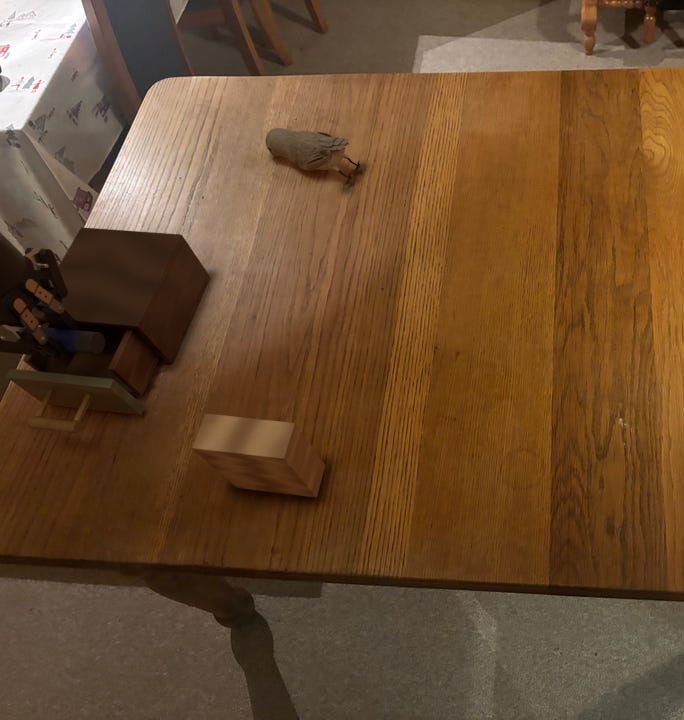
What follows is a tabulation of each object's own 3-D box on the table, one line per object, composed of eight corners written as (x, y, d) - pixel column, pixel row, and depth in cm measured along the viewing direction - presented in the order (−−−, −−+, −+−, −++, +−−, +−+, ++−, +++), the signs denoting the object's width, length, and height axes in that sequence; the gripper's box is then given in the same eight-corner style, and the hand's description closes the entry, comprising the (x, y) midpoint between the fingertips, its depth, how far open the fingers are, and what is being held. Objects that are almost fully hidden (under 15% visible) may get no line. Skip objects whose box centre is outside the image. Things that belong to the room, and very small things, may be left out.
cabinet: (172, 364, 87) (137, 326, 80) (72, 354, 89) (28, 316, 81) (210, 276, 95) (181, 234, 87) (117, 269, 96) (80, 227, 89)
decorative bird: (282, 145, 108) (267, 106, 101) (368, 168, 104) (357, 130, 97) (264, 167, 105) (247, 129, 99) (351, 192, 101) (339, 154, 95)
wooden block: (236, 487, 78) (191, 448, 68) (246, 456, 80) (204, 413, 70) (316, 497, 77) (283, 458, 66) (325, 465, 79) (294, 422, 68)
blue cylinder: (30, 351, 79) (15, 340, 76) (40, 333, 80) (26, 321, 78) (99, 358, 78) (86, 347, 75) (108, 339, 79) (95, 328, 77)
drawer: (125, 451, 80) (90, 426, 74) (26, 439, 82) (-16, 414, 76) (180, 325, 89) (154, 293, 83) (90, 317, 91) (57, 285, 85)
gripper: (-40, 192, 67) (63, 293, 82) (-121, 304, 60) (8, 392, 75) (27, 197, 66) (119, 298, 81) (-48, 311, 59) (68, 398, 74)
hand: (65, 342), depth 78 cm, fingers closed on blue cylinder, 2 cm apart
